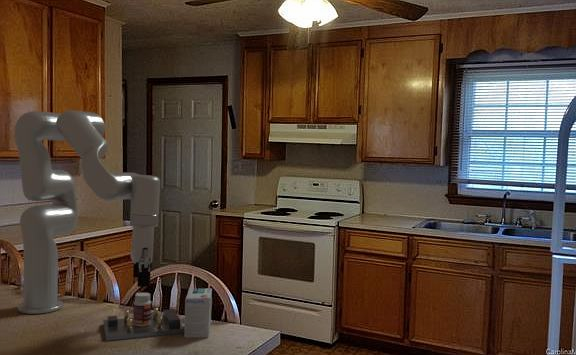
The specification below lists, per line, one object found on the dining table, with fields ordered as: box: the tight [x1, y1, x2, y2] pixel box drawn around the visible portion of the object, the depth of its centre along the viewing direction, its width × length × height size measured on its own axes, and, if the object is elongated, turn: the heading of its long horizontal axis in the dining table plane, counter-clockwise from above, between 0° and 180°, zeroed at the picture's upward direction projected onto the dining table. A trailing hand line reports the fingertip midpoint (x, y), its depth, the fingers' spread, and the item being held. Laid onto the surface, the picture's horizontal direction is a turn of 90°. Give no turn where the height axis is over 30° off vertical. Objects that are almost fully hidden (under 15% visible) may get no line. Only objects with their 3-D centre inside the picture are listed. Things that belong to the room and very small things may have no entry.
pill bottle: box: [132, 292, 152, 327], centre depth 147 cm, size 5×5×8 cm
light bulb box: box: [183, 287, 213, 339], centre depth 146 cm, size 11×7×11 cm, turn 5°
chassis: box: [102, 307, 185, 342], centre depth 147 cm, size 14×20×4 cm
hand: (141, 281), depth 147 cm, fingers open, 9 cm apart
